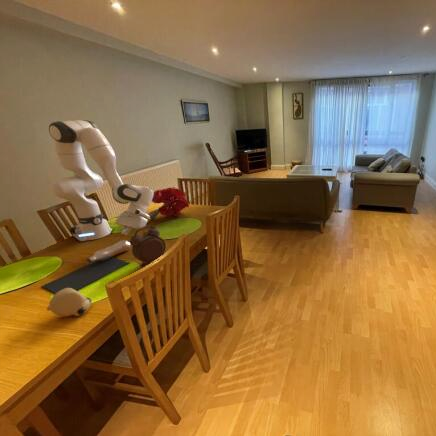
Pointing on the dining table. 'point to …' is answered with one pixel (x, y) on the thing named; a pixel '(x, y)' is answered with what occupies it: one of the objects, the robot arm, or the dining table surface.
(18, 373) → the dining table surface
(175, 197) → the bouquet
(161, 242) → the alarm clock
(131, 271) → the dining table surface
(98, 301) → the dining table surface
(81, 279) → the mat
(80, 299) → the beige rounded lump
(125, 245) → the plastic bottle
